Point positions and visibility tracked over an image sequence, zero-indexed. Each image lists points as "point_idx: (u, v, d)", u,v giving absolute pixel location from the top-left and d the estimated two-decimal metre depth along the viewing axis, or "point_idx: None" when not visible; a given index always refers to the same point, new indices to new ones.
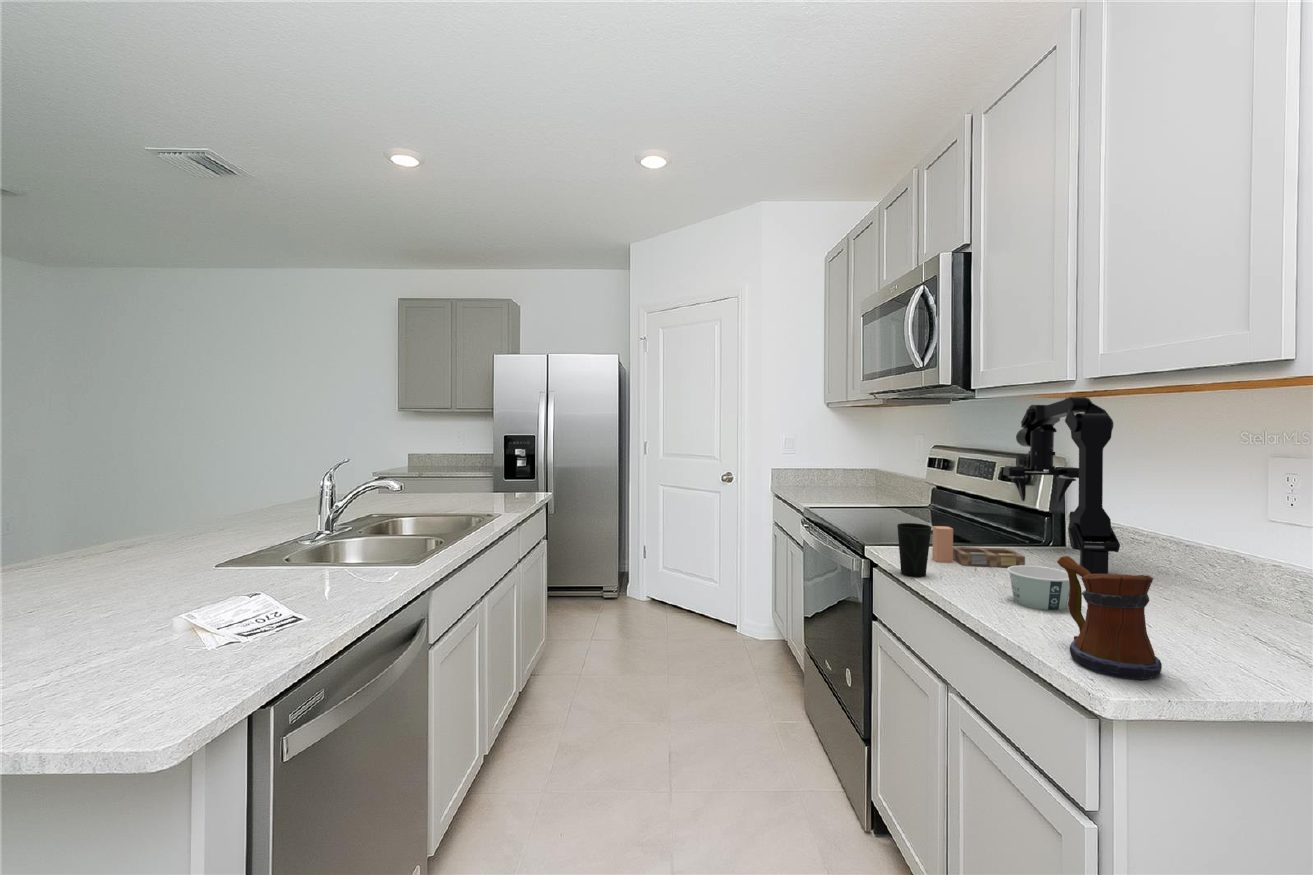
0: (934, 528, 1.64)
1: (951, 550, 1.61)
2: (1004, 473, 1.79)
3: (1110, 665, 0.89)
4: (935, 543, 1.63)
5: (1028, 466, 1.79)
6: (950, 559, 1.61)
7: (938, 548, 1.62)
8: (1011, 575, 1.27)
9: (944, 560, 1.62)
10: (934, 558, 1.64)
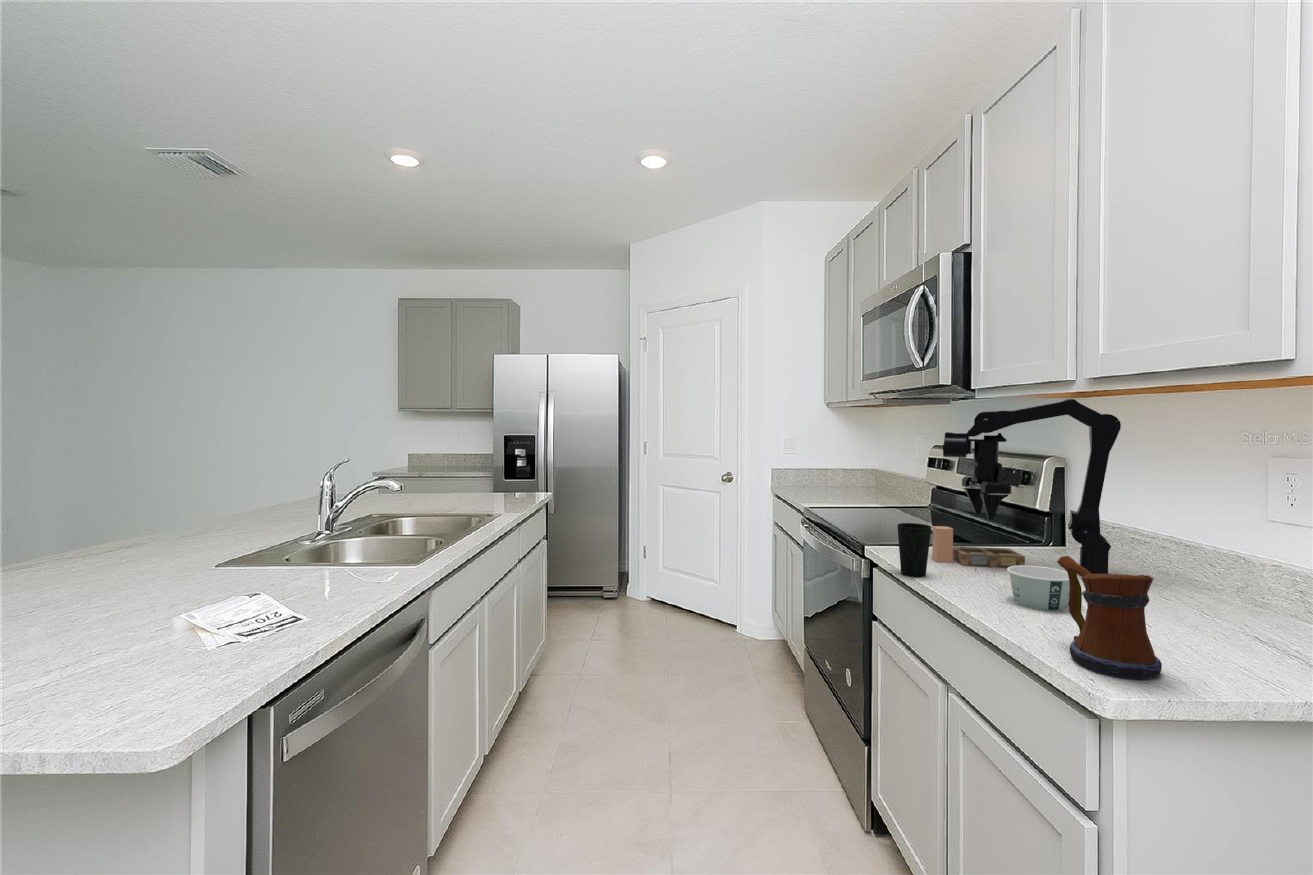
0: (934, 528, 1.64)
1: (951, 550, 1.61)
2: None
3: (1110, 665, 0.89)
4: (935, 543, 1.63)
5: None
6: (950, 559, 1.61)
7: (938, 548, 1.62)
8: (1011, 575, 1.27)
9: (944, 560, 1.62)
10: (934, 558, 1.64)
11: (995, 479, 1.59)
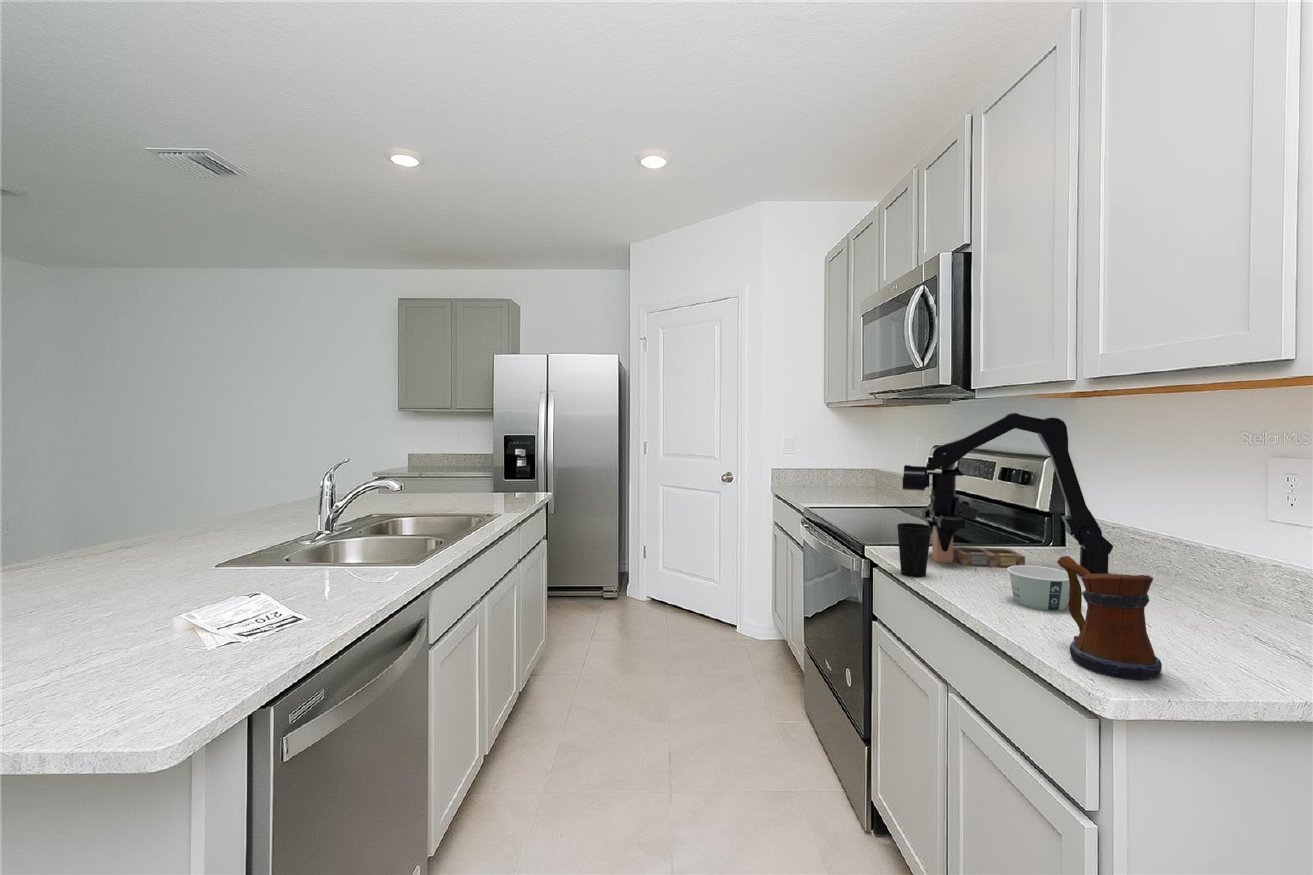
0: (934, 528, 1.64)
1: (951, 550, 1.61)
2: None
3: (1110, 665, 0.89)
4: (935, 543, 1.63)
5: None
6: (950, 559, 1.61)
7: (938, 548, 1.62)
8: (1011, 575, 1.27)
9: (944, 560, 1.62)
10: (934, 558, 1.64)
11: (952, 512, 1.61)
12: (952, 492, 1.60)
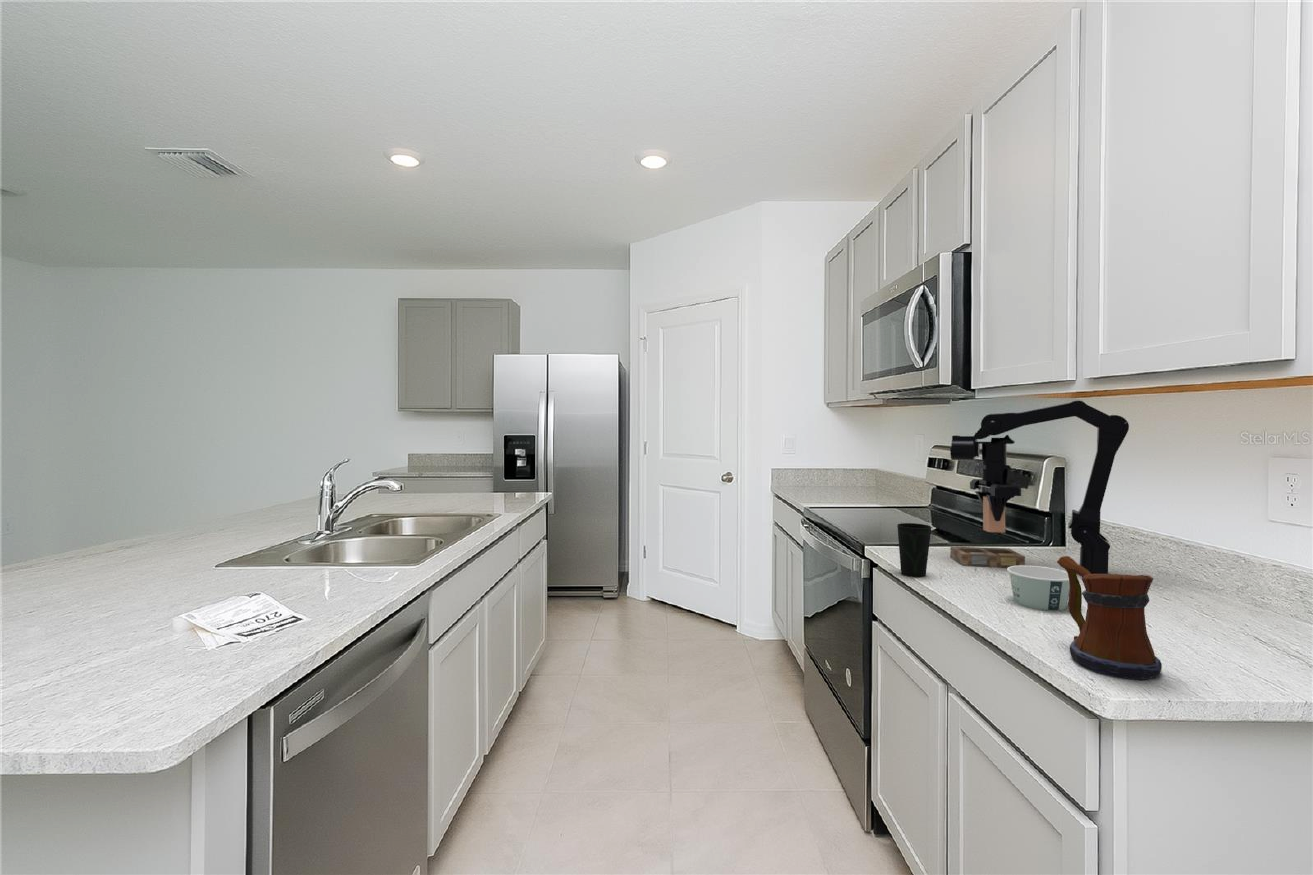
0: (985, 498, 1.62)
1: (1003, 519, 1.59)
2: None
3: (1110, 665, 0.89)
4: (986, 513, 1.61)
5: None
6: (1003, 529, 1.59)
7: (990, 518, 1.59)
8: (1011, 575, 1.26)
9: (997, 530, 1.59)
10: (986, 528, 1.61)
11: (1004, 481, 1.58)
12: (1003, 460, 1.58)
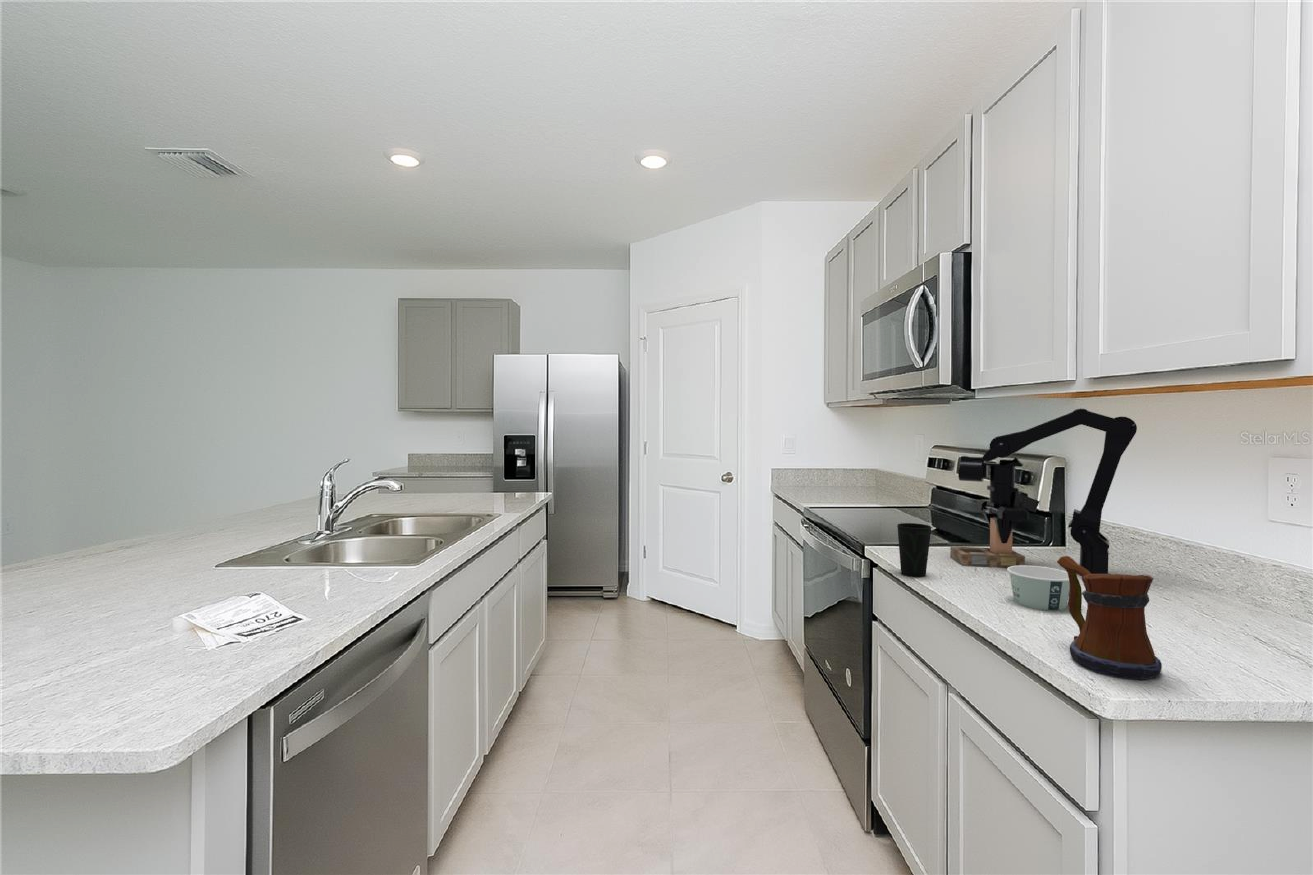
0: (992, 520, 1.62)
1: (1010, 542, 1.59)
2: None
3: (1110, 665, 0.89)
4: (993, 535, 1.61)
5: None
6: (1009, 551, 1.59)
7: (997, 540, 1.59)
8: (1011, 575, 1.26)
9: (1003, 552, 1.59)
10: (992, 550, 1.61)
11: (1012, 504, 1.58)
12: (1012, 483, 1.58)
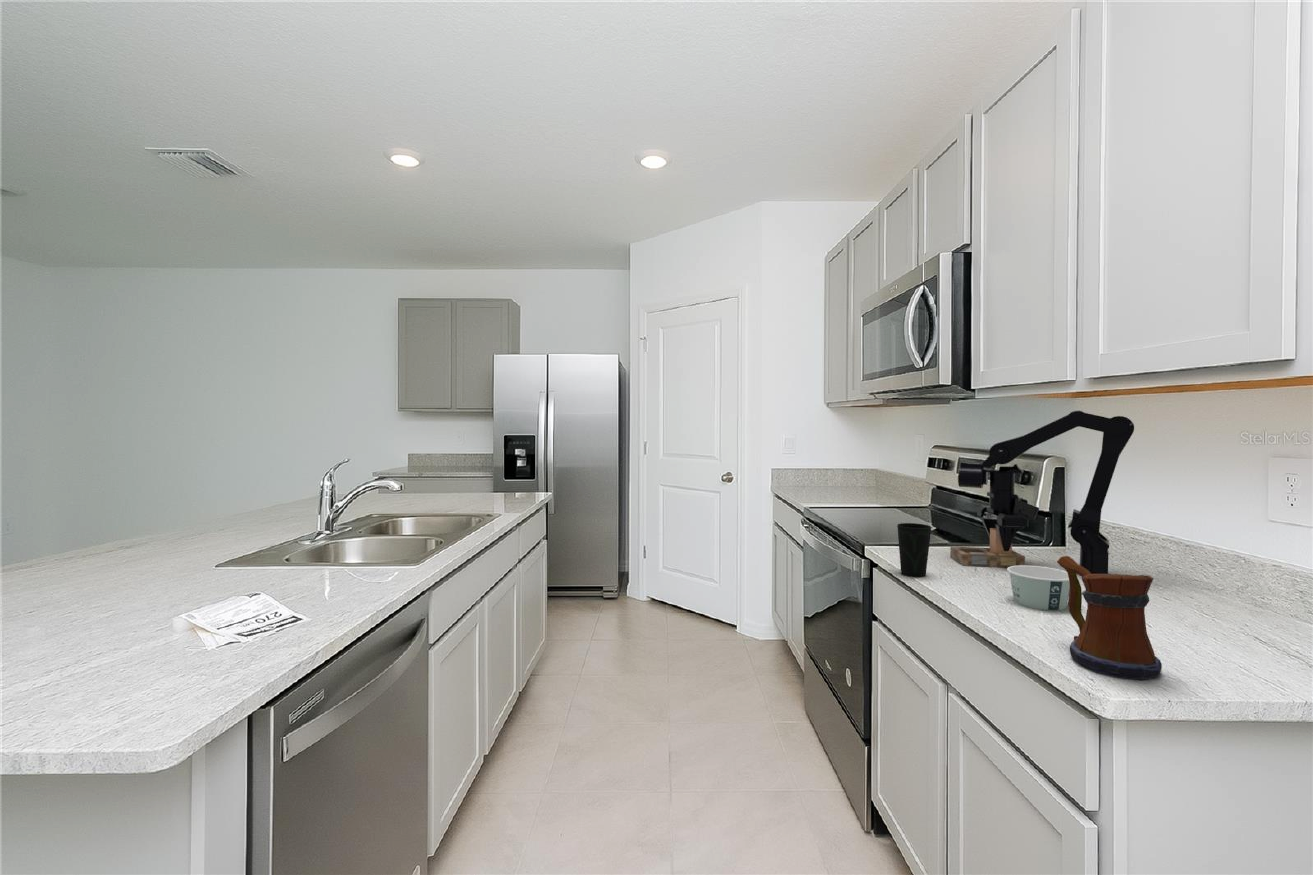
0: (992, 530, 1.62)
1: (1010, 552, 1.59)
2: None
3: (1110, 665, 0.89)
4: (993, 545, 1.61)
5: None
6: None
7: (997, 550, 1.59)
8: (1011, 575, 1.26)
9: None
10: None
11: (1011, 510, 1.58)
12: (1011, 490, 1.58)
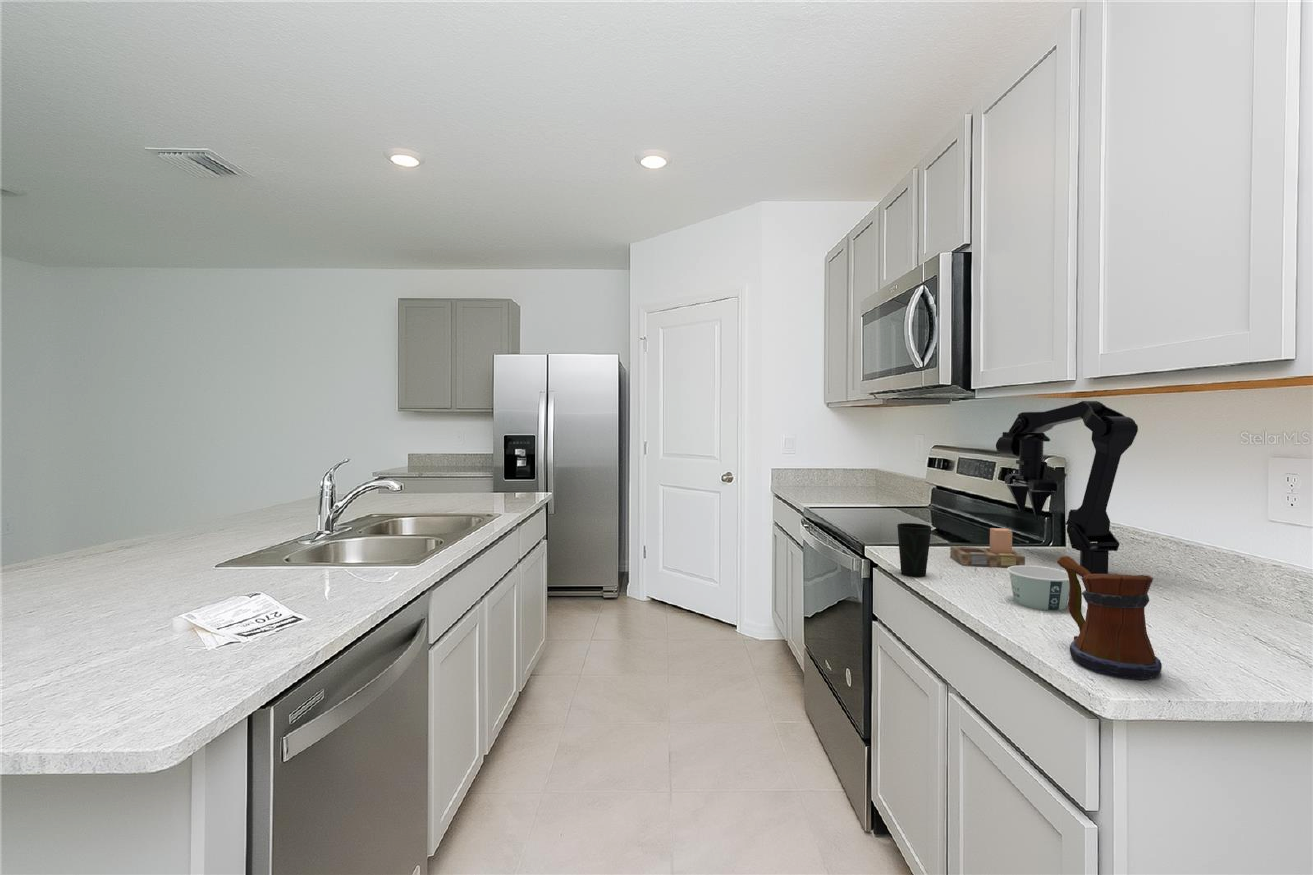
0: (992, 530, 1.62)
1: (1010, 552, 1.59)
2: None
3: (1110, 665, 0.89)
4: (993, 545, 1.61)
5: None
6: None
7: (997, 550, 1.59)
8: (1011, 575, 1.27)
9: None
10: None
11: (1040, 477, 1.66)
12: (1041, 457, 1.66)
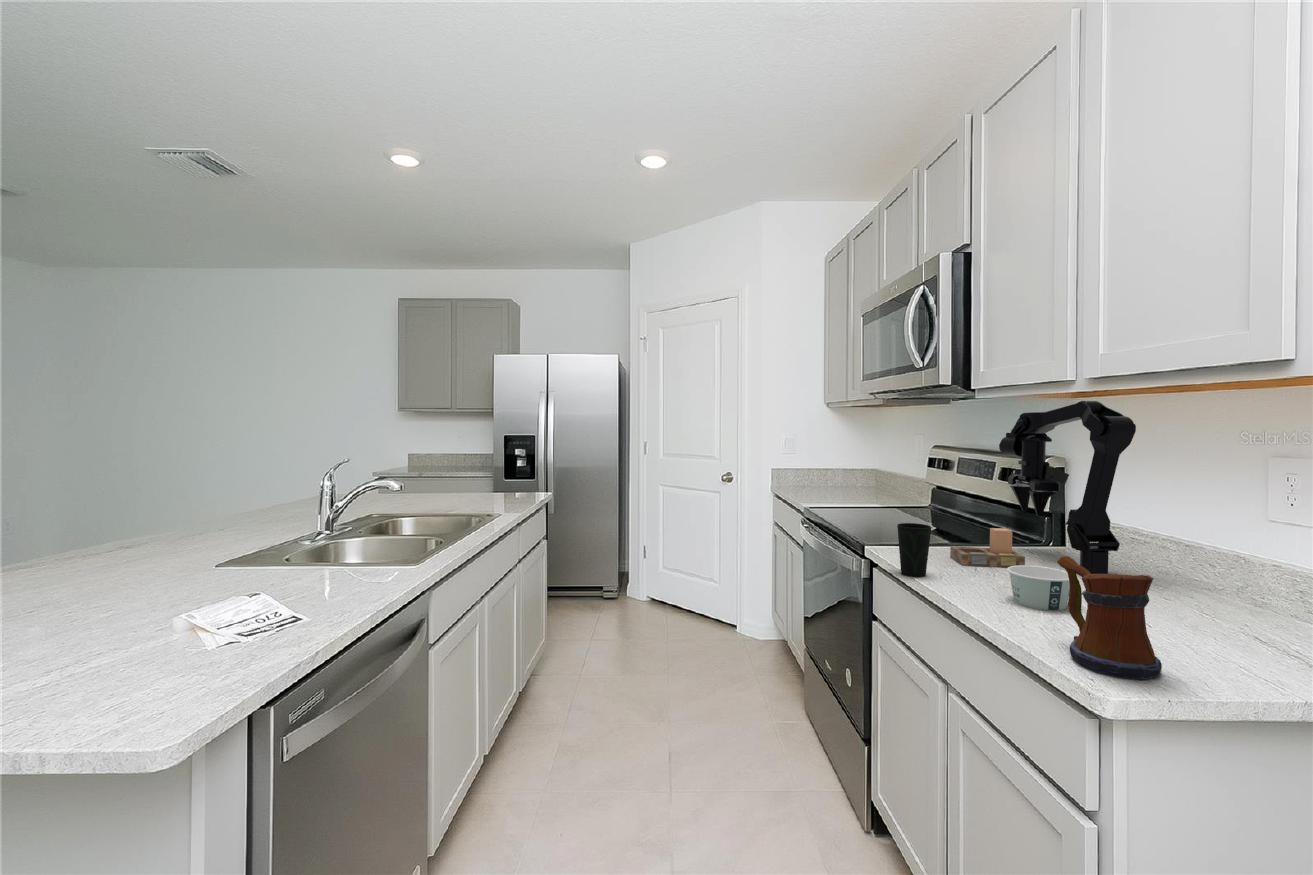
0: (992, 530, 1.62)
1: (1010, 552, 1.59)
2: None
3: (1110, 665, 0.89)
4: (993, 545, 1.61)
5: None
6: None
7: (997, 550, 1.59)
8: (1011, 575, 1.26)
9: None
10: None
11: (1043, 477, 1.67)
12: (1043, 457, 1.67)
